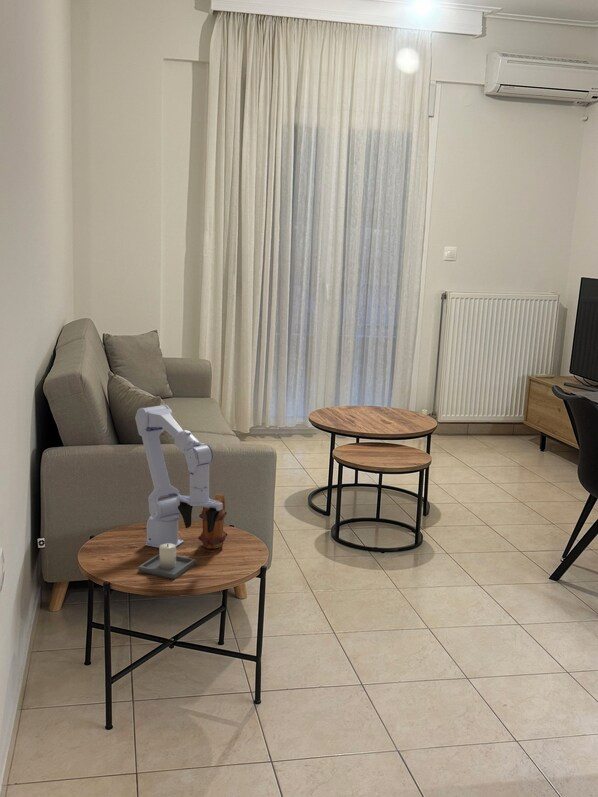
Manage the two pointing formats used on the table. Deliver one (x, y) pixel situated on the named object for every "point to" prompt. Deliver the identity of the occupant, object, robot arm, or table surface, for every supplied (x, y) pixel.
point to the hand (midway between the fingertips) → (199, 529)
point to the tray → (154, 569)
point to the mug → (217, 535)
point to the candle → (167, 556)
